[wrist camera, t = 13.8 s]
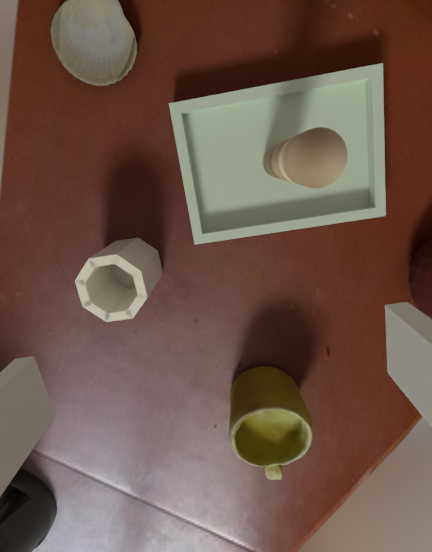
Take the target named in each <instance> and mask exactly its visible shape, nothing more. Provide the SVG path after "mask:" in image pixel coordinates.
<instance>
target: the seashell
mask: <svg viewBox="0 0 432 552" xmlns="http://www.w3.org/2000/svg"><path fill="white" fill-rule="evenodd" d="M51 39H52V45H53V47H54V51H55V53H56V54H57V57H58V58H59V60H60V61H61V63H62V64H63V66H64V67H65V68H66V69H67V70H68V71H69V72H70V73H71V74H72V75H73V76H75V77H76V78H77V79H79V80H81V81H83V82H85V83H88V84H91V85H96V86H109V85H111V84H112V85H113V84H115V83H117V82H118V81H121V80H122V79H123V78H124V77H125V76H127V75H128V72H129V71H131V69H132V65H133V64H134V63H135V57H136V55H137V43H136V38H135V34H134V31H133V29H132V27H131V26H130V24H129V22H128V20H127V18H126V17H125V16H124V14H123V10H122V7H121V5H120V3H119V1H118V0H65V1H64V3H63V4H62V5H61V6H60V8H59V9H58V11H56V12H55V14H54V16H53V19H52V23H51Z"/></svg>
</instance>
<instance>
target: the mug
mask: <svg viewBox="0 0 432 552" xmlns="http://www.w3.org/2000/svg"><path fill="white" fill-rule="evenodd" d="M230 403H231V411H230V424H229V436H230V441H231V444H232V448H233V449H234V451H235V453H236V454H237V455H238V457H239V458H240V459H242V460H243V461H245V462H246V463H249V464H251V465H254V466H258V467H264V470H265V474H266V477H267V478H268V479H270V480H274V479H281V478H282V466H281V465H286V464H289V463H291V462H293V461H295V460H297V459H298V458H301V457H302V456H303V455H304V454H305V453H306V452H307V450H308V449H309V447H310V445H311V443H312V439H313V427H312V422H311V419H310V416H309V413H308V410H307V408H306V406H305V403H304V401H303V399H302V396H301V394H300V392H299V390H298V388H297V386H296V384H295V382H294V381H293V379H292V378H291V377H290V376H289V375H288V374H287V373H285V372H284V371H282V370H280V369H278V368H276V367H273V366H257V367H254V368H252V369H249V370H246V371H244V372H243V373H241V374H240V375H239V376H238V377H237V378H236V379H235V381H234V383H233V385H232V388H231V392H230Z"/></svg>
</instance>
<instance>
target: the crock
mask: <svg viewBox="0 0 432 552" xmlns="http://www.w3.org/2000/svg"><path fill="white" fill-rule="evenodd" d="M162 274H163V271H162V266H161V262H160V257H159V252H158V251H157V250H156V249H154V248H153V247H152V246H150V245H149V244H147V243H146V242H144V241H143V240H141V239H140V238H131V239H125V240H118V241H115V242H113V243H112V244H110V245H109V246H107V247H106V248H104V249H103V250H101V251H100V252H98V253H97V254H95V255H93V256H92V257H90V258H89V259H88V260H87V262H86V264H85V265H84V267H83V268H82V270H81V272H80V273H79V275H78V277H77V278H76V280H75V283H76V286H77V289H78V293H79V296H80V300H81V303H82V306H83V307H84V308H85V309H87V310H89V311H90V312H92V313H93V314H95V315H96V316H98V317H99V318H101V319H103V320H104V321H106V322H110V321H117V320H125V319H132V318H133V317H134V316H135V315H136V313H137V312H138V310H139V309H140V308H141V306H142V305H143V303H144V302H145V300H146V299H147V298H148V296H149V294H150V293H151V291H152V290H153V288H154V287H155V285H156V284H157V282H158V280H159V279H160V277H161V276H162Z"/></svg>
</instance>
